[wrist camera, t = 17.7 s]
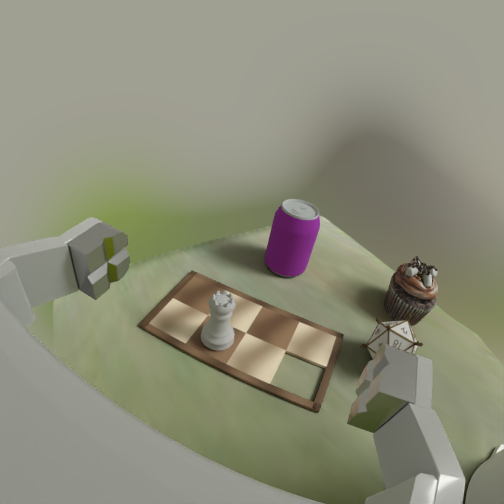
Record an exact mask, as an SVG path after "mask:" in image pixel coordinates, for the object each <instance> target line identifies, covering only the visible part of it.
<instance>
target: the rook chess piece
mask: <svg viewBox="0 0 504 504" xmlns="http://www.w3.org/2000/svg"><path fill="white" fill-rule="evenodd" d="M208 303H209V307H210V310H209V312H210V315H211V316H210V319H209V321H208V322H207V323H206V324H205V325H204V326H203V329H202V331H201V332H202V333H201V340H202V342H203V343H204V345H205V346H207V347H208V348H210V349H212V350H216V351H219V350H225V349H227V348H229V347H230V346H231V345H232V344H233V342H234V335H235V334H234V330H233V327H232V326H231V324H230V317H231V316H232V314H233V312H232V311H233V310H234V309H235V307H236V302H235V300H234V298H233V295H232V294H231V293H230V294H229V295H228V294H227V291H226V290H223V293H220V291H219V290H218V291H216V292H215V294H213V295H212V297H210V299H209V301H208Z"/></svg>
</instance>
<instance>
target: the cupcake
mask: <svg viewBox="0 0 504 504" xmlns="http://www.w3.org/2000/svg"><path fill="white" fill-rule="evenodd" d="M436 275H437V269H436V268H435V266H427V265H426V264H425V263H422V262H421V261H420V260H419V259H418V257H415V258H413V259H412V260H411V262H410V263H407V264H403V265H400V266H399V268H398V269H397V272H395V273H394V274H393V276H392V278H391V281H390V285H389V289H388V291H387V295H386V298H385V301H384V305H385V308H386V311H387V312H388V314H389V315H390V316H391V317H392V318H393V319H394V320H395V321H399V320H407V318H408V316H409V315H411V319H410V320H409V323H410V325H416V324H417V323H418V322H419V321H420V320H421V319H422V318H423V317H425V316H426V315H427V314H428V313H429V312H430V311H431V310H432V309H433V308H434V307H435V305H436V295H437V291H438V287H437V283H436V282H435V279H434V278H433V277H436Z"/></svg>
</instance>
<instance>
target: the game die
mask: <svg viewBox="0 0 504 504" xmlns="http://www.w3.org/2000/svg"><path fill="white" fill-rule="evenodd" d="M410 319H411V315H409V316H408V318H407V320H399V321H385V322H380V320H379V318H377V317H376V321H377V322H378V325H377V327H376V329H375V331H374V332H373V334H372V336H371V338H370V340H369V342H368V343H367V345H365V344H364V345H361V346H360V347H362V348H367V350H368V352H369V354H370V356H371V358H372V360H374V359H375V356H376V351H377V350H378V349H379V347H380V346H381V345H382V344H383V343H385V344H388V345H390V346H393V347H396V348H399V349H401V350H404V351H407V352H410V353H413V354H415V352H416V350H417V348H418V346H422V345H423V344H422V343H419V342H418V341H417V339H416V337H415V334H414V332H413V330H412V327H411V325H410V323H409V320H410Z"/></svg>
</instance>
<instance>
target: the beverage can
mask: <svg viewBox="0 0 504 504" xmlns="http://www.w3.org/2000/svg"><path fill="white" fill-rule="evenodd" d="M319 228H320V220H319V211H318V209H317V208H316V207H315V206H314V205H312V204H311V203H309V202H306V201H303V200H299V199H288V200H285V201H283V203H282V204H281V206H280V207H279V208H278V210H277V211H276V213H275V216H274V220H273V224H272V228H271V233H270V237H269V241H268V246H267V250H266V254H265V263H266V265H267V266H268V268H270V269H271V270H272V271H273V272H274V273H276V274H278V275H280V276H284V277H293V276H298V275H300V274H302V273H303V272H304V271H305V269H306V267H307V264H308V261H309V258H310V255H311V252H312V249H313V246H314V243H315V240H316V237H317V234H318V231H319Z"/></svg>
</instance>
